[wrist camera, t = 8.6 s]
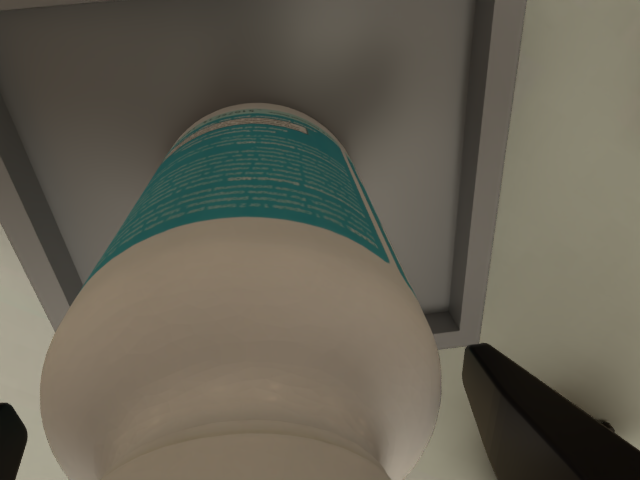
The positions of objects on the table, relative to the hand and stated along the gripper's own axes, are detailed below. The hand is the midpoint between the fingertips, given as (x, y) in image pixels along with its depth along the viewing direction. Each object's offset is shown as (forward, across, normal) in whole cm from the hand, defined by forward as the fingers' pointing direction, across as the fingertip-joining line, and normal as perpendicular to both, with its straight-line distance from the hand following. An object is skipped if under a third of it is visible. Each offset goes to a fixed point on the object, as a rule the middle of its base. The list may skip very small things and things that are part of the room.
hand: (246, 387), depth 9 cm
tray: (+10, 0, 0) cm, 10 cm away
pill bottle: (+10, 0, 0) cm, 10 cm away
